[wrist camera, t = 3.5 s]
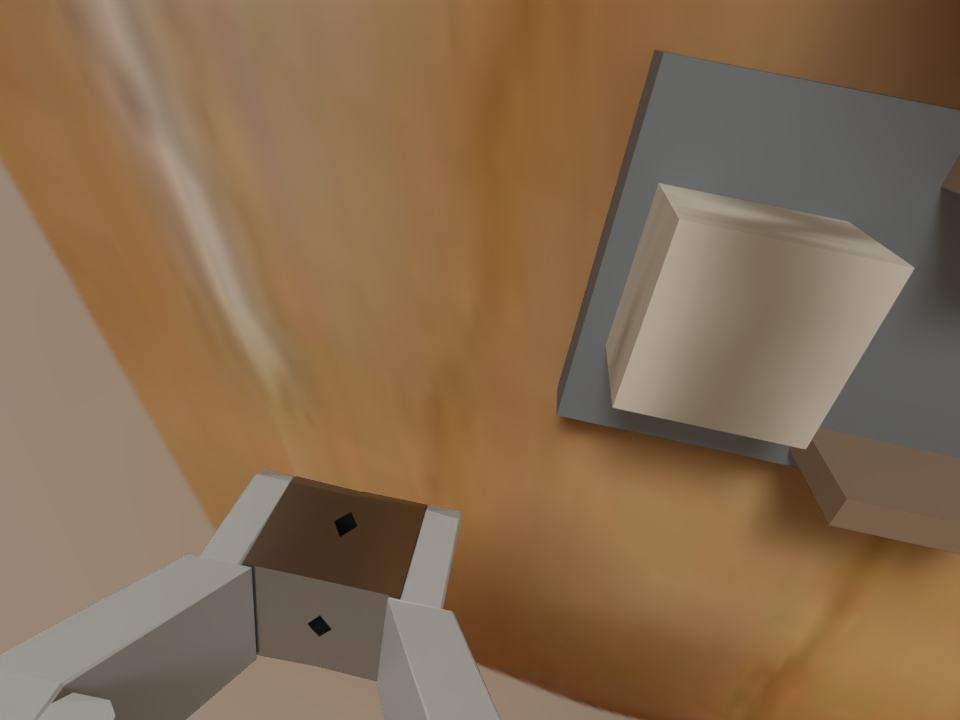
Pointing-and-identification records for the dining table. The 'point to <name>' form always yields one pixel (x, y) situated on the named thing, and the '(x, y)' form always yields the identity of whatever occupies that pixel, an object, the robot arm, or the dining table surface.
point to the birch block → (746, 315)
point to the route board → (829, 193)
